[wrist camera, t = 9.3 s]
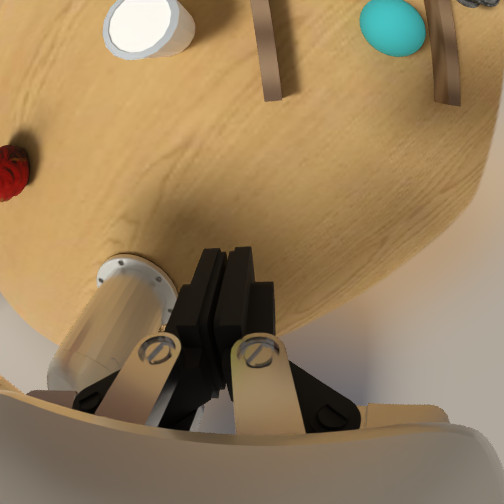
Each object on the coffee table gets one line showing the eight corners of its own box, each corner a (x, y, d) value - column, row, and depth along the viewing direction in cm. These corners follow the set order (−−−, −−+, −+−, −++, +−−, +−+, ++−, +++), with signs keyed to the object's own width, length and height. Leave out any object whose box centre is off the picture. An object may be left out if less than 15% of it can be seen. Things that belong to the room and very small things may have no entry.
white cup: (210, 6, 21) (190, -13, 15) (190, 67, 24) (165, 65, 18) (147, 0, 20) (114, -15, 14) (130, 58, 24) (93, 57, 18)
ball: (396, 14, 20) (394, 64, 22) (347, -5, 18) (345, 48, 21) (438, 8, 15) (438, 65, 17) (387, -20, 13) (387, 43, 16)
